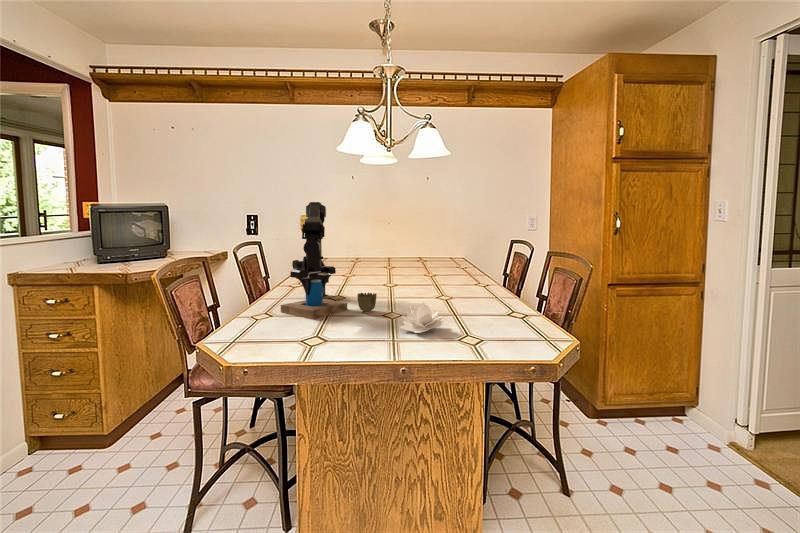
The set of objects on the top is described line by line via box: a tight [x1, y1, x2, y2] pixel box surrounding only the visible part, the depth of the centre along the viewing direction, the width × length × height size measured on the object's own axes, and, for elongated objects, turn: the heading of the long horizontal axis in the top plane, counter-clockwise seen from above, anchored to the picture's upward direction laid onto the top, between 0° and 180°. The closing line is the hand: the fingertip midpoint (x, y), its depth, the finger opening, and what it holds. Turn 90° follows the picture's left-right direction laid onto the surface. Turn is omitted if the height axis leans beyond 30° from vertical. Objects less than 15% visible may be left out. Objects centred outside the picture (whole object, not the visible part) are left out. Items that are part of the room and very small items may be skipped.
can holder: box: [280, 299, 348, 321], centre depth 172 cm, size 18×18×4 cm
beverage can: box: [305, 280, 324, 307], centre depth 171 cm, size 6×6×12 cm
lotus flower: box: [400, 301, 444, 334], centre depth 147 cm, size 14×15×9 cm
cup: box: [356, 292, 377, 314], centre depth 169 cm, size 8×7×8 cm
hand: (314, 293), depth 171 cm, fingers closed on beverage can, 6 cm apart
